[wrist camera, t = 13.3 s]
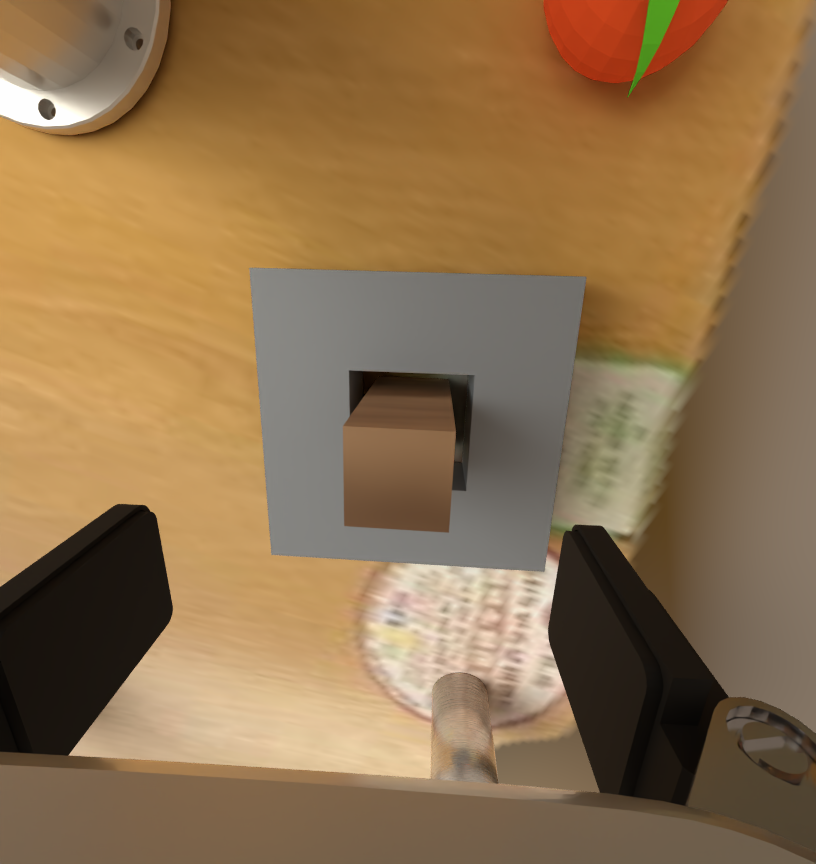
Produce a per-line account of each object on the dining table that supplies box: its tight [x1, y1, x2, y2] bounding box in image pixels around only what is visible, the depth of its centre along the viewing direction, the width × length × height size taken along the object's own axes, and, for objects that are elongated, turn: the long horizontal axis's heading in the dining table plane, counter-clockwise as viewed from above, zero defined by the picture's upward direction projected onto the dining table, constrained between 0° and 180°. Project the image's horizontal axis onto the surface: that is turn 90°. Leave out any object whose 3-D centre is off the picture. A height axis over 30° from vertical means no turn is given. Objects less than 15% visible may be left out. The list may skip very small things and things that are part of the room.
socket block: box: [250, 268, 586, 572], centre depth 24 cm, size 15×15×4 cm
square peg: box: [343, 376, 456, 533], centre depth 21 cm, size 4×4×10 cm
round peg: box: [431, 673, 499, 784], centre depth 27 cm, size 4×4×10 cm
